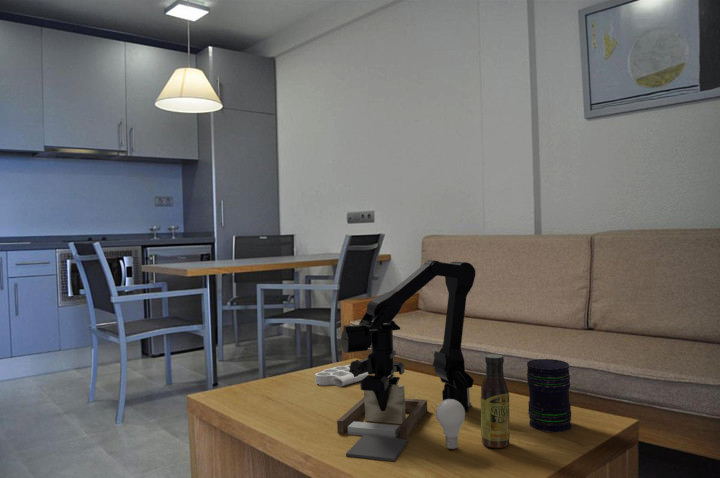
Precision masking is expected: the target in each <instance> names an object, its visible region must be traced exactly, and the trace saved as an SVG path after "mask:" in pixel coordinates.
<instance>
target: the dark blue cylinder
mask: <svg viewBox="0 0 720 478" xmlns="http://www.w3.org/2000/svg"><path fill="white" fill-rule="evenodd" d="M526 367H527V369H526V372H527V373H526V379H527V387H528V394H529V395H528V396H529V397H528V398H529V400H528V410H527V411H528V418H529V424H528V425H529V426H530V427H531V428H532V429H534V430H537V431H539V432H540V431H541V432H545V433H564V432H567V431H569V430H571V429H572V423H571V421H572V410H571V409H572V407H571V406H572V405H571V402H570V388H571V383H570V381H571V377H570V376H571V375H570V370H569V369H570V364H569V362H567V361H564V360H560V359H549V358H541V359H540V358H538V359H532V360H528V361H527V362H526Z"/></svg>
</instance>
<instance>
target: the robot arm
mask: <svg viewBox="0 0 720 478" xmlns="http://www.w3.org/2000/svg"><path fill="white" fill-rule="evenodd" d="M476 275H477V273H476V268H475V267H474V266H473V264H472V263H470V262H467V261H466V262H465V261H451V262H450V263H447V262H441V261H439V260H435V259H434V260H433V259H430V260H425V262H424V263H423V264H422V265H421V266H420V267H419V268H418V269H416V270H415V271H414V272H413V273H411V274H410V275H409V276H407V278H405V279H404V280H403V281H402V282H400V283H399V284H397V286H395V287H394V288H393V289H391V290H390V291H387V292H384V293H382V294H380V295H378V296H377V297H375V298H373V299H371V300H369V302H368V303H367V305H366V311H365V313H364V315H363V316H362V318H361V320H360V321H359V322H358V324H355V325H350V324H347V325H343V328H342V329H343V330H342V332H341V337H340V344H341V349H342V351H343V353H344V354H349V353H351V354H352V353H357V352H365V351H366V352H367V351H368V350H369V349H370V350H371V351H370V352H369V354H368V355H367V357H366V358H363V359H360V360H359V359H355V360H352V361H350V364H349V365H350V366H349V367H350V370H349V372H350V373H352V374H353V375H354V377H357V376H358V375H360V374H363V373H366V372H368V374H369V375H367V376H366V377H365V378H364V379H363V380H362V381H359V382H360V383H359V385H360V390H361V391H364V390H366V391H373V392H374V393H375V396H376V398H377V401H378V404H379V407H380V410H381V411H385V409H386V406H387V403H388V399H389V395H390V392H391V388H392V385H399V381H400V380H401V379H400V378H401V377H399V376H395V375H396V374H395V373H399V375H403V374H404V373H405V372H406V371H405V365H404V363H402V361H395V360H394V359H395V356H396V355H397V350H394V334H393V333H394V332H393V331H399V330H401V327H400V326H399V325H398V324H397V323H396V321H395V320H394V319H395V317H396V316H397V315H398V314H400V312H401V309H402V307H403V305H405V303H406V302H407V301H408V300H409V299H411V298H412V297H413V296H414V295H416V293H418V292H419V291H420V290H421V289H423V288H424V287H425V286H426V285H428V284H429V283H430V282H431V281H432V280H434V278H436V277H437V276H438V277H444V278H445V279H444V281H445V286H446V288H447V291H448V297H447V307H446V315H445V326H444V333H443V334H444V335H443V341H442V342H443V343H442V347H441V348H440V350H439V351H436V350H435V351H433V352H434V354H433V357H434V358H433V362H432V367H433V368H434V369H433V370H434V373H435V374H436V375H437V377H439V379H440V381H441V383H442V384H444V385H443V390H442V392H441V394H442V401H443V400H446V399H454V400H457V401H458V402H460V403H461V404H462V406H463V407H464V410H465V412H468V411H469V409H470V408H471V406H472V402H471V401H470V398H471V397H470V389H471V388H473V385H474V381H475V380H474V378H473V377H472V376H470V374H469V373H467V372H466V366H465V363H466V362H465V358H464V355H463V351H462V340H463V335H464V334H463V333H464V324H465V323H464V322H465V313H466V307H467V296H468V295H469V293H470V292H471V289H472V288H473V286H474V283H475V278H476ZM388 384H392V385H388Z"/></svg>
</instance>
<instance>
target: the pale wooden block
mask: <svg viewBox="0 0 720 478" xmlns="http://www.w3.org/2000/svg"><path fill="white" fill-rule="evenodd" d="M388 385H392V384H388ZM405 395H406V392H405V385H404V384H397V385H392V388H391V392H390V395H389V399H388V403H387V406H386V409H385V411H381V410H380V407H379V404H378V401H377V398H376V396H375V393H374V392H373V391H366V390H363V398H364V404H365V413H364V421H365V422H371V423H383V424H385V423H387V424H395V425H398V424H399V425H401V424H402V423H403V422H404V420H405V419H406V418H407V416H406V412H405V398H406V396H405Z"/></svg>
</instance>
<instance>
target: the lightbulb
mask: <svg viewBox="0 0 720 478" xmlns="http://www.w3.org/2000/svg"><path fill="white" fill-rule="evenodd" d="M435 416H436V419H437V421H438V423H439V425H440V426H441V428H442V431H443V434H444V435H445V447H446V448H447V449H449V450H455V449H457V448H458V447H459V440H458V438H459V437H458V436H459V433H460V429H461V426H462V425H463V423H464V421H465V418H466V411H465V410H464V407H463V406H462V404H461V403H460V402H458V401H457V400H454V399H446V400H443V399H442V401H440V403H439V404H438V405H437V408H436V410H435Z"/></svg>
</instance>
